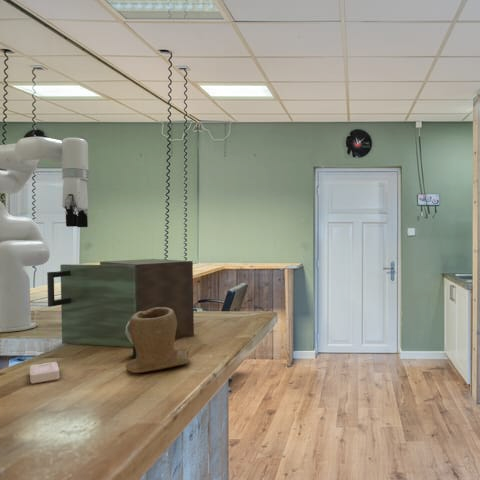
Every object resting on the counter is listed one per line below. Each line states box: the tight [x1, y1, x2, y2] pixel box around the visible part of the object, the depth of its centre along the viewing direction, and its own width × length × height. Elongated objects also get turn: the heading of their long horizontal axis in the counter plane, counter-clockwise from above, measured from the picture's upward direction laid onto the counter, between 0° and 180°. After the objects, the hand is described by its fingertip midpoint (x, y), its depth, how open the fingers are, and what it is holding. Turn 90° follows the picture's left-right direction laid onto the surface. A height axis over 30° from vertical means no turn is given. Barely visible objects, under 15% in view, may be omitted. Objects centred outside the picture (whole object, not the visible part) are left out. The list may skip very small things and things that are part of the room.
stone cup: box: [124, 307, 190, 374], centre depth 113 cm, size 15×12×15 cm
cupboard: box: [99, 258, 195, 340], centre depth 151 cm, size 18×26×24 cm
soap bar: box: [29, 361, 60, 385], centre depth 107 cm, size 5×9×2 cm, turn 37°
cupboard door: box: [46, 263, 136, 348], centre depth 135 cm, size 8×26×24 cm, turn 75°
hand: (77, 226), depth 154 cm, fingers open, 9 cm apart
